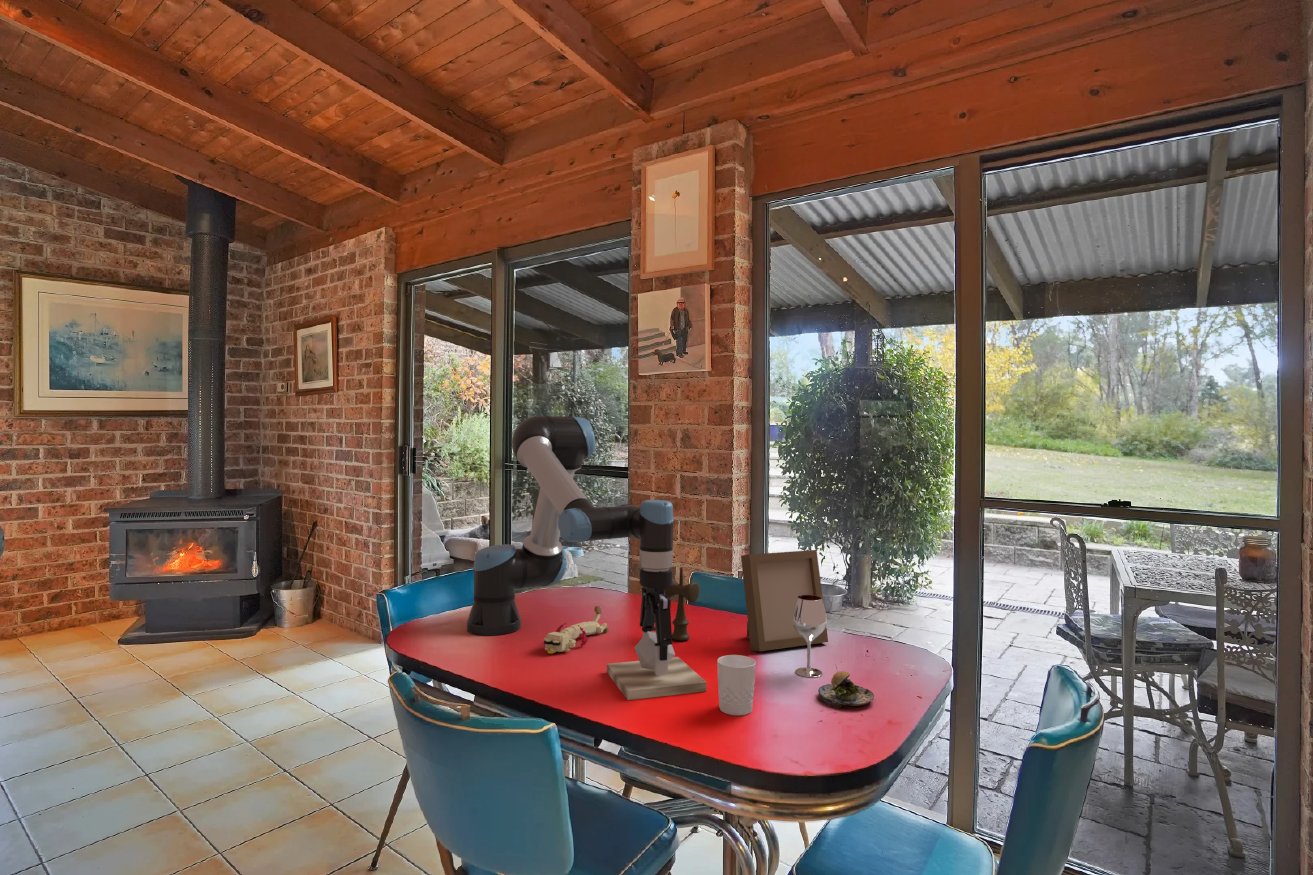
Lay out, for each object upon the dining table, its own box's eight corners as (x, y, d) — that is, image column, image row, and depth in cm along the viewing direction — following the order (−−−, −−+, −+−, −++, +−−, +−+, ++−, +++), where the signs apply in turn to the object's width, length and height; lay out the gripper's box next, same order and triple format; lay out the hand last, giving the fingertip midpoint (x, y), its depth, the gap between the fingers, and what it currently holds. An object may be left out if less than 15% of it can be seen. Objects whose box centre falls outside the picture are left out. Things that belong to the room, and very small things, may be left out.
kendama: (673, 633, 197) (674, 563, 197) (700, 640, 191) (701, 567, 191) (660, 638, 192) (660, 566, 192) (687, 645, 186) (688, 570, 186)
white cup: (713, 702, 147) (714, 655, 147) (750, 701, 147) (751, 654, 147) (720, 717, 139) (721, 667, 139) (759, 716, 139) (759, 666, 139)
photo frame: (828, 645, 187) (829, 553, 187) (759, 655, 179) (760, 558, 178) (795, 631, 201) (796, 544, 201) (730, 639, 192) (731, 549, 192)
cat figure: (584, 634, 200) (531, 650, 178) (586, 603, 201) (533, 615, 178) (614, 639, 196) (564, 656, 173) (616, 607, 196) (566, 620, 174)
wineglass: (806, 681, 160) (807, 603, 160) (784, 670, 167) (785, 595, 167) (833, 675, 164) (834, 599, 164) (810, 665, 171) (811, 592, 171)
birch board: (606, 672, 164) (606, 663, 164) (678, 665, 170) (678, 656, 170) (627, 700, 147) (627, 690, 147) (706, 691, 153) (706, 682, 153)
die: (680, 668, 160) (665, 629, 165) (678, 660, 153) (662, 619, 158) (647, 681, 160) (633, 642, 164) (643, 674, 152) (628, 633, 157)
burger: (841, 715, 141) (841, 678, 141) (806, 695, 152) (806, 661, 152) (887, 706, 146) (887, 671, 146) (850, 687, 157) (850, 654, 157)
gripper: (688, 576, 149) (687, 681, 149) (656, 559, 170) (655, 650, 170) (655, 578, 147) (653, 684, 147) (627, 560, 167) (626, 653, 168)
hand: (654, 666), depth 159 cm, fingers closed on die, 9 cm apart
